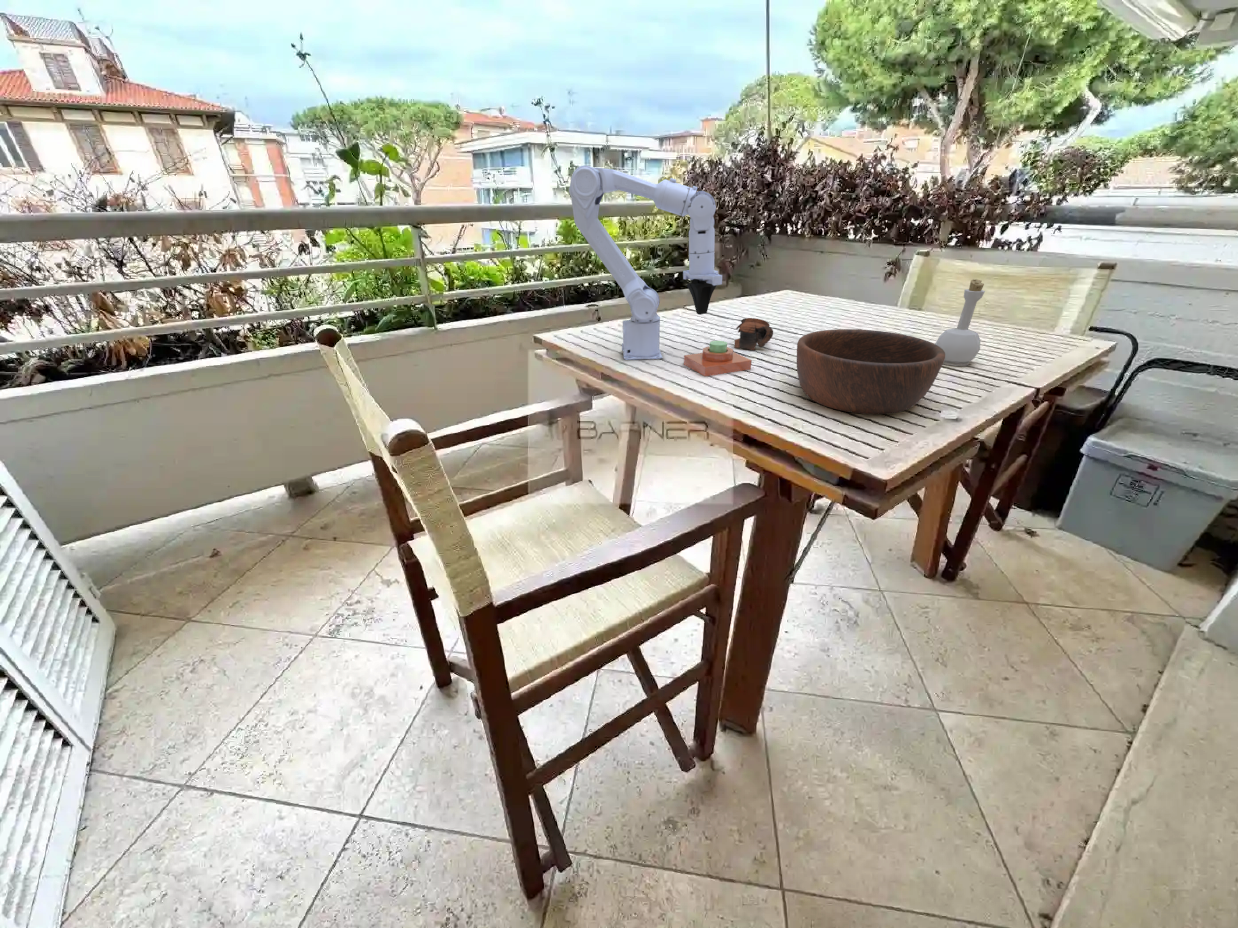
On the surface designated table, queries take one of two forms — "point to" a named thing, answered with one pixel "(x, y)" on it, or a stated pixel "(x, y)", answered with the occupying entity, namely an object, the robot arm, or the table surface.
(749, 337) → the pottery mug
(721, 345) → the green button cap
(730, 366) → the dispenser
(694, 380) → the table surface
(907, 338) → the wooden bowl
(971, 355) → the potion bottle
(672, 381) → the table surface
